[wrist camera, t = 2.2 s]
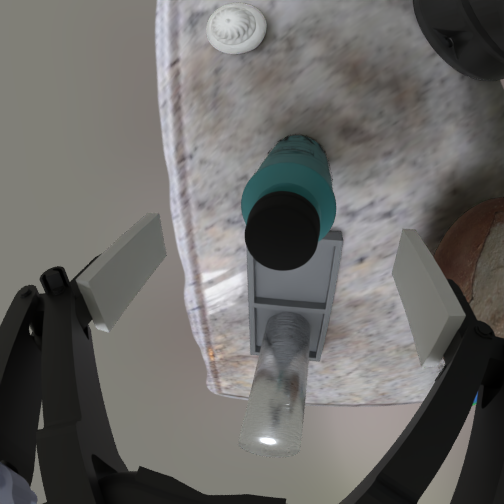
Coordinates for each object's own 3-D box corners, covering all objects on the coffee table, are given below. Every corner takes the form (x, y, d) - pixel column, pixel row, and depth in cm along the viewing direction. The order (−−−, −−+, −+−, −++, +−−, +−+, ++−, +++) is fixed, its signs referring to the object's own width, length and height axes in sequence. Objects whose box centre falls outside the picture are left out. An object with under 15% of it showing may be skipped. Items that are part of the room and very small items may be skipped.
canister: (313, 314, 41) (303, 441, 24) (308, 345, 45) (296, 459, 28) (266, 309, 42) (236, 432, 25) (265, 341, 46) (239, 452, 29)
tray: (341, 231, 35) (342, 240, 33) (320, 350, 46) (319, 361, 44) (249, 225, 37) (246, 233, 35) (253, 344, 48) (250, 354, 46)
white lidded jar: (282, 36, 24) (275, 20, 18) (240, 68, 27) (223, 62, 21) (246, 2, 23) (230, -18, 17) (206, 35, 25) (181, 23, 19)
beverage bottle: (334, 177, 32) (358, 279, 15) (280, 192, 34) (246, 302, 17) (316, 124, 29) (328, 163, 12) (261, 141, 31) (198, 203, 14)
